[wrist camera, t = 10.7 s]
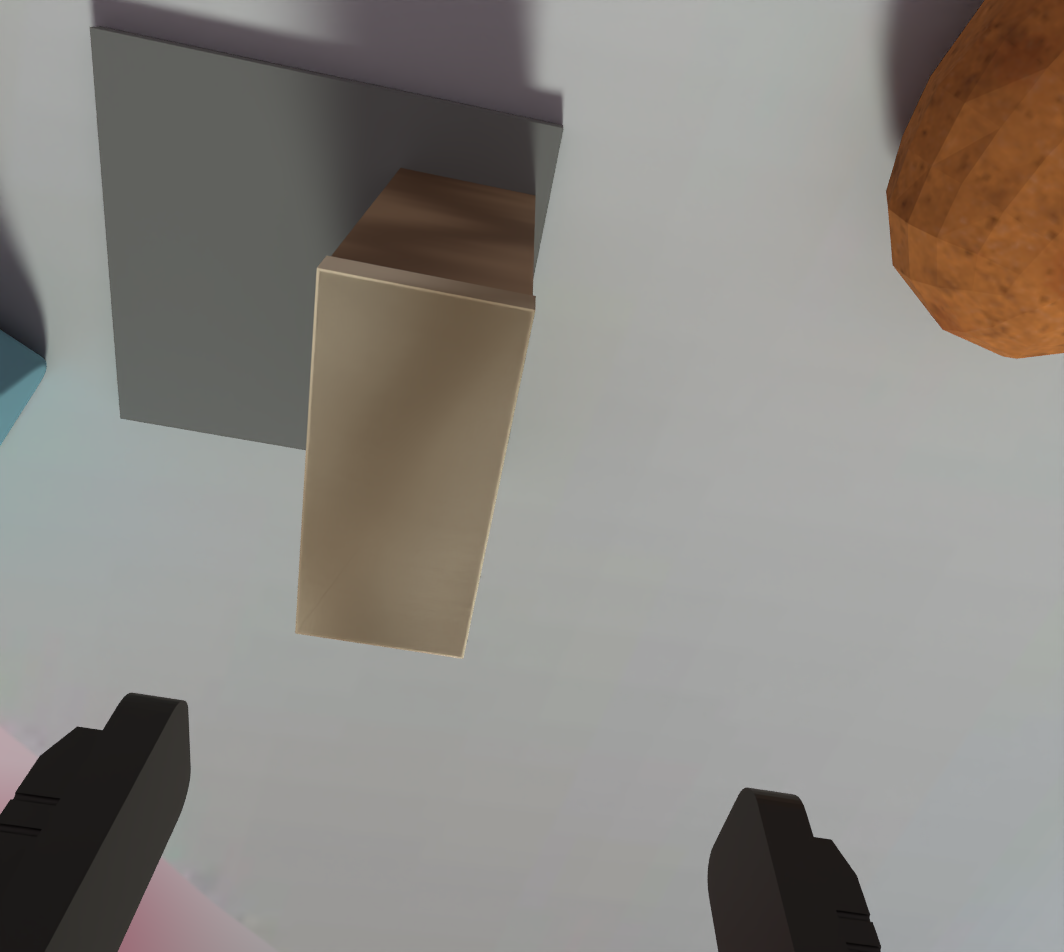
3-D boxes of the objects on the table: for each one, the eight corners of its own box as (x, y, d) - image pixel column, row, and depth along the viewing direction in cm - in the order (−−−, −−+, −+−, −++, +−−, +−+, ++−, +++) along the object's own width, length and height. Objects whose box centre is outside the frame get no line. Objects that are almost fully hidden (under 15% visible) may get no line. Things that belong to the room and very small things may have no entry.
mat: (562, 125, 23) (563, 128, 23) (493, 473, 29) (492, 482, 29) (100, 26, 22) (89, 27, 22) (128, 410, 28) (120, 418, 28)
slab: (537, 194, 24) (535, 310, 15) (486, 456, 28) (463, 658, 20) (398, 165, 23) (316, 267, 15) (370, 436, 28) (295, 633, 19)
